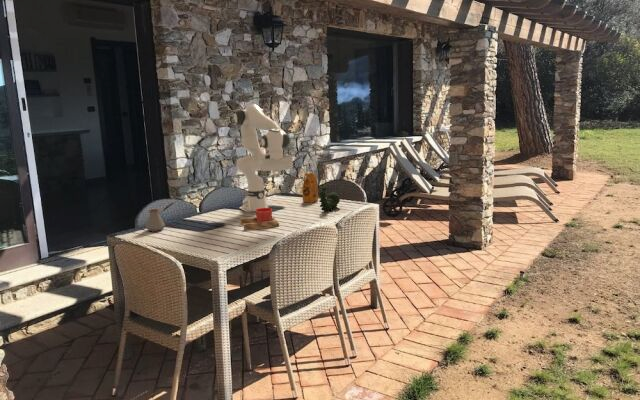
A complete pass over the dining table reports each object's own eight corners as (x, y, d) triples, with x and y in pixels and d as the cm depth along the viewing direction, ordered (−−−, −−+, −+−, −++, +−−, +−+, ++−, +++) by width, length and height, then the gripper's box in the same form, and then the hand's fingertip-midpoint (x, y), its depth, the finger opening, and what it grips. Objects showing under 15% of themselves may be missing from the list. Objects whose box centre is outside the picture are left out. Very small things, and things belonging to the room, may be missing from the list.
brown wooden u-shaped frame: (274, 220, 324) (273, 215, 323) (279, 226, 308) (278, 220, 307) (241, 223, 318) (240, 218, 318) (244, 230, 302) (243, 224, 302)
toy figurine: (329, 215, 336) (344, 205, 358) (327, 188, 331) (342, 179, 352) (317, 215, 341) (332, 204, 362) (314, 188, 335) (330, 179, 357)
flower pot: (276, 222, 317) (275, 207, 315) (268, 227, 307) (267, 211, 305) (261, 222, 321) (259, 207, 319) (253, 226, 310) (252, 211, 309)
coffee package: (300, 202, 377) (299, 173, 373) (309, 199, 388) (307, 171, 383) (311, 203, 372) (310, 174, 368) (320, 200, 383) (318, 171, 378)
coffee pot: (153, 233, 304) (151, 209, 301) (142, 231, 311) (139, 207, 308) (181, 225, 321) (179, 202, 318) (170, 223, 328) (168, 201, 325)
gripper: (291, 153, 316) (292, 175, 318) (259, 155, 310) (260, 177, 313) (293, 154, 310) (294, 176, 312) (260, 156, 304) (262, 179, 307)
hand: (277, 177), depth 312 cm, fingers closed
